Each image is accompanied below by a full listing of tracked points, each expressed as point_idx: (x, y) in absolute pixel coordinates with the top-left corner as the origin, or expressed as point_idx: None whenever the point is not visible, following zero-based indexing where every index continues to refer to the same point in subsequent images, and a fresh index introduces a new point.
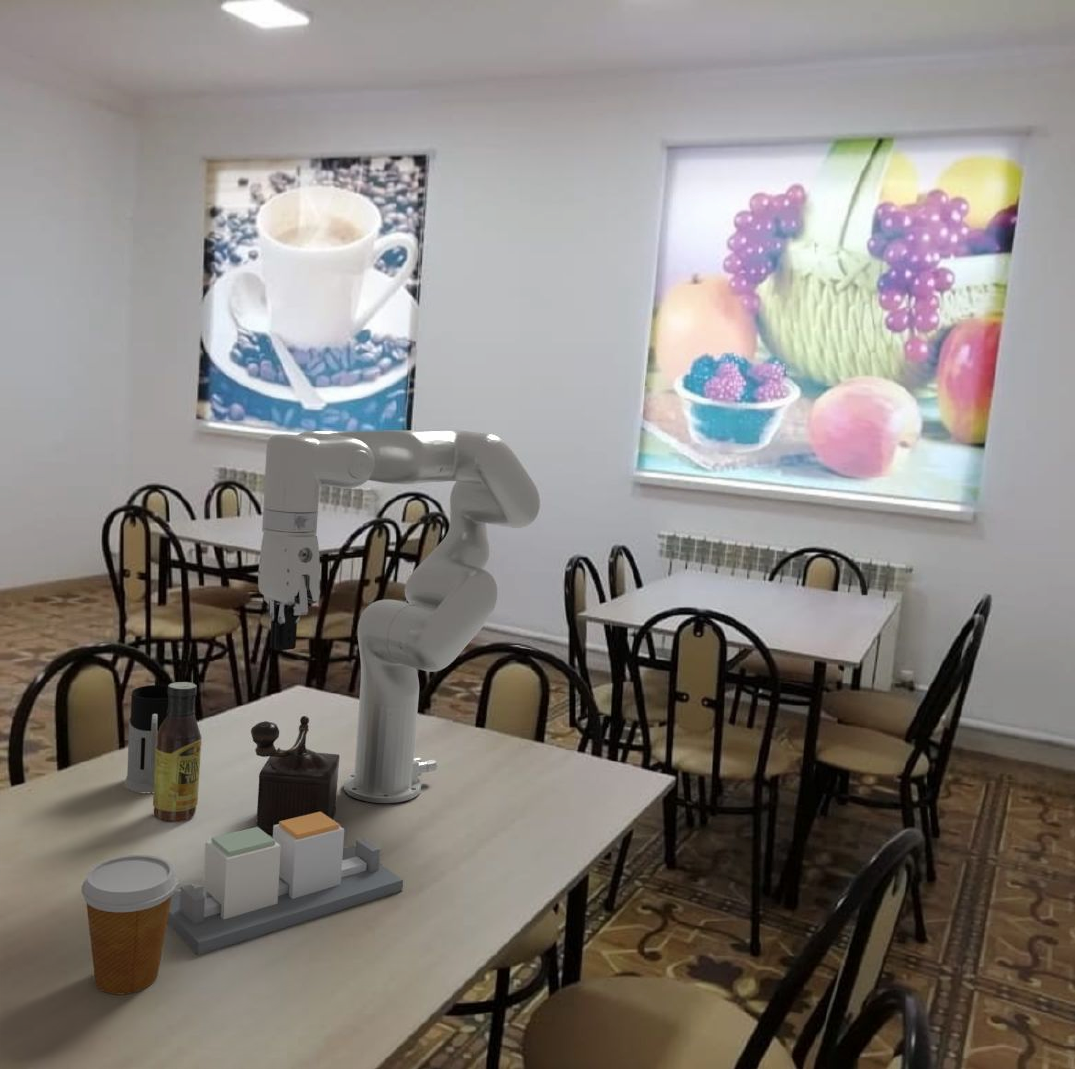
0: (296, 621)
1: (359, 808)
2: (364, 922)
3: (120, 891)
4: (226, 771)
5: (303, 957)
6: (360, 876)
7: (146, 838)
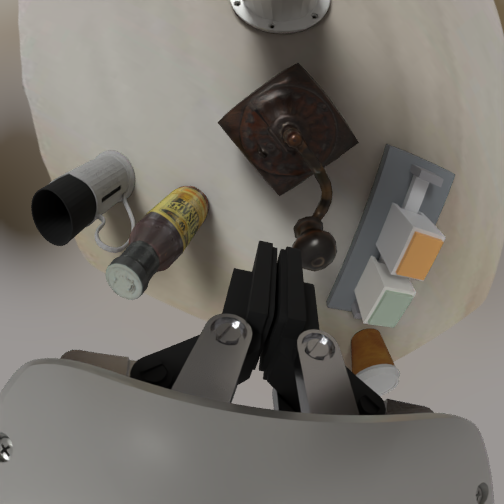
0: (329, 347)
1: (305, 47)
2: (448, 226)
3: (385, 393)
4: (120, 102)
5: (434, 277)
6: (428, 191)
7: (218, 246)
